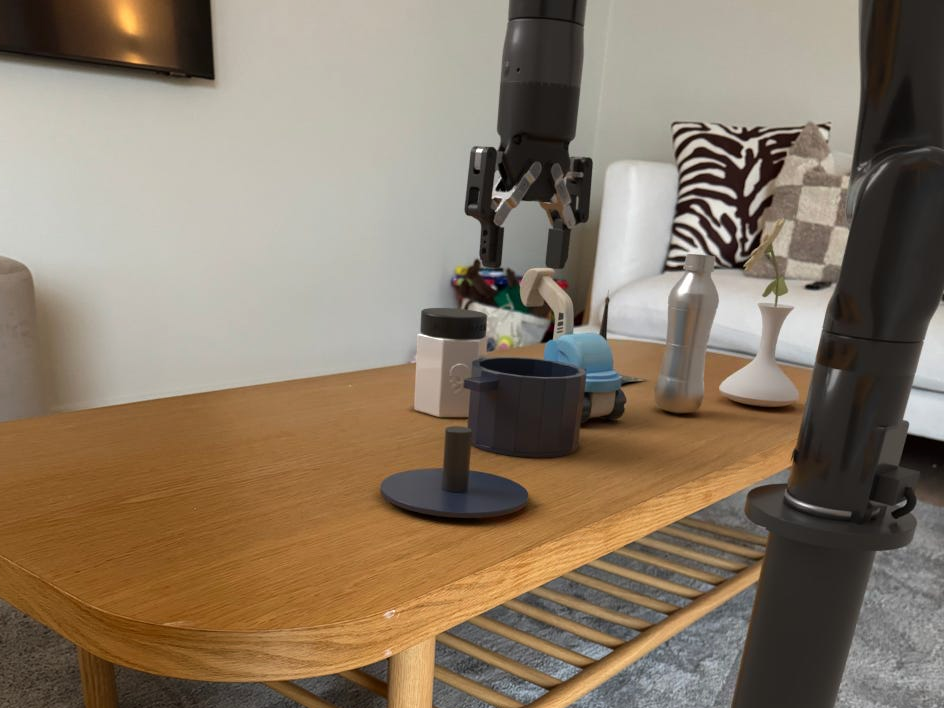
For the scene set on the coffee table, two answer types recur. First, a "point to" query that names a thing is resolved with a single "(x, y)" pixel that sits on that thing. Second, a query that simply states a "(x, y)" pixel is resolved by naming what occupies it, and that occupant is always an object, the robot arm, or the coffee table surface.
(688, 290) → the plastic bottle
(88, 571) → the coffee table surface
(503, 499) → the lid
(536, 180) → the robot arm
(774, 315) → the flower in vase
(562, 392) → the pot
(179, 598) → the coffee table surface
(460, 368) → the jar
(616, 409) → the toy excavator
